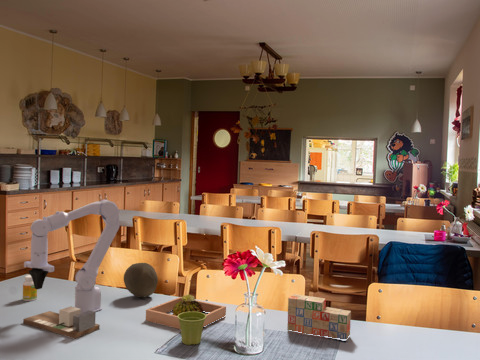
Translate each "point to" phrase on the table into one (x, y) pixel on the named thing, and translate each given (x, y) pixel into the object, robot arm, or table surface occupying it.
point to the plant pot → (191, 326)
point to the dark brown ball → (141, 279)
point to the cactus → (187, 305)
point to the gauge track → (49, 320)
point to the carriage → (67, 315)
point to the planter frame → (160, 316)
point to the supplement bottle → (29, 289)
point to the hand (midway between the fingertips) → (38, 288)
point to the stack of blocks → (317, 317)
